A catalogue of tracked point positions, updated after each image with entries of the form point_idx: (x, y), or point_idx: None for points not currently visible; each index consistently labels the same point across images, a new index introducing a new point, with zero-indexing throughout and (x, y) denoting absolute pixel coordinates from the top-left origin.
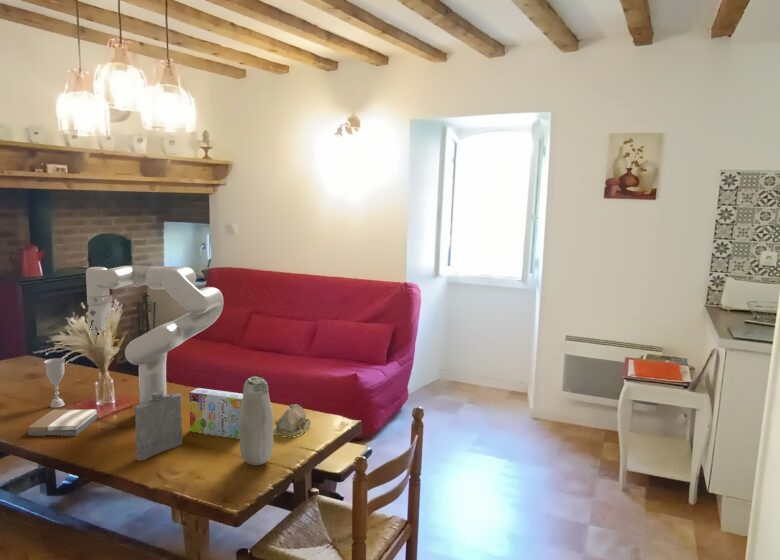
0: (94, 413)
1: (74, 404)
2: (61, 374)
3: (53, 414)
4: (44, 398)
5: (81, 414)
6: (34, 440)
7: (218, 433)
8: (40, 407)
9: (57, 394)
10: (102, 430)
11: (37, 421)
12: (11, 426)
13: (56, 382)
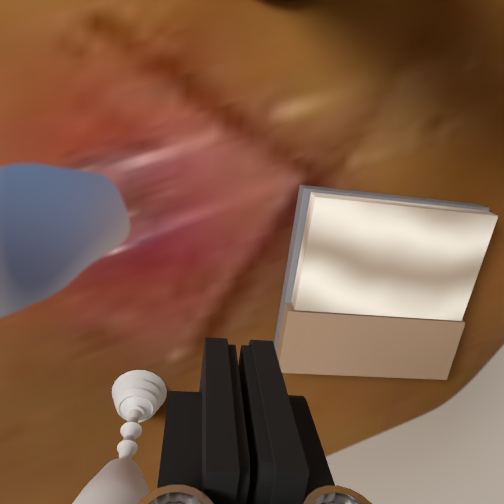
0: (333, 195)
1: (131, 335)
2: (128, 488)
3: (334, 350)
4: (61, 464)
5: (366, 241)
6: (477, 326)
7: None
8: (163, 435)
9: (136, 423)
10: (450, 116)
11: (398, 373)
12: (338, 439)
13: (140, 470)
